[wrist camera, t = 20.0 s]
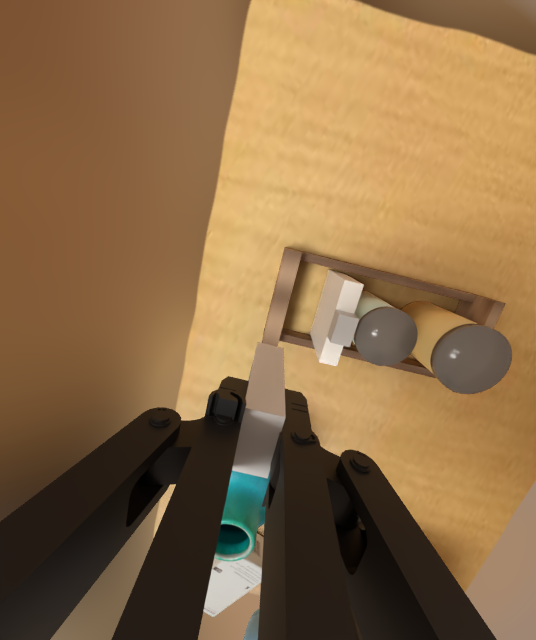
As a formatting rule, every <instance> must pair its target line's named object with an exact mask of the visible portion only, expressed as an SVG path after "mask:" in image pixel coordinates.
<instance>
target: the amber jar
mask: <svg viewBox="0 0 536 640" xmlns="http://www.w3.org/2000/svg"><path fill="white" fill-rule="evenodd" d="M401 311H403V312H405V313H406V314H408V315H409V316H410V317H411V318H412V319H413V321H414V322H415V324H416V327H417V331H418V338H417V342H416V345H415V347H414V349H413V351H412V352H411V353H410V354H411V355H412V356H414V357H415V358H416V359H417V360H418V361H419V362H420V363H421V364H423V365H424V366H425V367H426V368H427V369H428V370H429V371H430V372H432V373H433V374H434V375H435V377H436V378H437V379H438V380H439V381H440V382H441V383H442V384H443V385H445V386H446V387H447V388H448V389H450V390H452V391H454V392H457V393H462V394H474V393H479V392H482V391H485V390H487V389H489V388H491V387H493V386H494V385H496V384H497V383H498V382H499V381H500V380H501V379H502V378H503V377H504V376H505V374H506V373H507V371H508V369H509V367H510V364H511V360H512V350H511V346H510V344H509V342H508V340H507V339H506V338H505V336H503V335H502V334H501V333H500V332H498V331H496V330H494V329H492V328H489V327H487V326H484V325H481V324H477V323H475V322H473V321H471V320H468V319H466V318H464V317H461V316H459V315H457V314H455V313H452V312H450V311H448V310H445V309H443V308H441V307H439V306H436V305H434V304H432V303H429V302H424V301H418V302H413V303H410V304H408V305H406V306H405V307H403V308H402V309H401Z"/></svg>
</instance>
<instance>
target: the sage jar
mask: <svg viewBox="0 0 536 640" xmlns="http://www.w3.org/2000/svg"><path fill="white" fill-rule="evenodd" d="M354 314H355V315H356V316H357V317H358V318H359V322H358V324H357V327H356V330H355V333H354V336H353V339H352V341H353V343H354V344H355V346H356V348H357V350H358V351H359V353H360V354H361V356H362V357H363V358H364V359H365V360H367V361H368V362H370V363H372V364H375V365H379V366H388V365H393V364H396V363H399V362H401V361H402V360H404V359H405V358H406V357H407V356H409V355H410V353H411V352H412V351H413V349H414V347H415V345H416V342H417V338H418V331H417V327H416V324H415V322H414V321H413V319H412V318H411V317H410V316H409V315H408V314H406V313H405V312H403V311H401V310H400V309H397V308H395V307H393V306H391V305H390V304H388V303H386V302H385V301H383V300H381V299H380V298H378V297H376V296H375V295H373V294H371V293H369V292H367V291H362V292H361V295H360V298H359V301H358V304H357V307H356V310H355V313H354Z"/></svg>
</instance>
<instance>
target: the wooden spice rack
mask: <svg viewBox="0 0 536 640" xmlns="http://www.w3.org/2000/svg"><path fill="white" fill-rule="evenodd" d="M300 260H302V261H306V262H310V263H314V264H318V265H322V266H326V267H330V268H334V269H338V270H342V271H346V272H350V273H354V274H358V275H363V276H367V277H371V278H375V279H379V280H383V281H387V282H391V283H395V284H399V285H403V286H407V287H411V288H415V289H419V290H423V291H427V292H431V293H435V294H439V295H443V296H447V297H452V298H456V299H460V302H459V304H458V306H457V309H456V311H455V314H457V315H459V316H461V317H464V318H466V319H468V320H471V321H473V322H475V323H477V324H481V325H484V326H487V327H489V328H492V329H494V327H495V325H496V323H497V320H498V318H499V316H500V314H501V312H502V310H503V308H504V306H505V304H506V303H502V302H499V301H495V300H492V299H489V298H485V297H482V296H478V295H475V294H472V293H468V292H464V291H459V290H455V289H451V288H447V287H443V286H439V285H435V284H431V283H427V282H423V281H419V280H415V279H411V278H407V277H403V276H399V275H395V274H391V273H387V272H383V271H379V270H375V269H371V268H367V267H363V266H359V265H355V264H351V263H347V262H343V261H338V260H334V259H330V258H326V257H322V256H318V255H314V254H310V253H306V252H302V251H298V250H294V249H290V248H286V247H285V248H284V252H283V257H282V261H281V265H280V269H279V273H278V277H277V281H276V285H275V289H274V293H273V297H272V301H271V305H270V309H269V313H268V317H267V321H266V325H265V329H264V334H263V340H262V343H264V344H269V345H273V346H278V342H279V341H283V342H288V343H292V344H296V345H300V346H304V347H308V348H313V349H315V348H314V345H313V341H312V338H311V335H307V334H303V333H299V332H295V331H291V330H287V329H282V327H283V323H284V319H285V316H286V312H287V308H288V304H289V301H290V297H291V293H292V289H293V286H294V282H295V278H296V274H297V271H298V267H299V263H300ZM341 355H342V356H346V357H350V358H354V359H359V360H363V361H367V360H365V359H364V358H363V357H362V356H361V354H360V353H359V351H358V350H357V348H356V346H353V345H350V347H347V346H343V349H342V352H341ZM367 362H368V361H367ZM388 367H392V368H396V369H400V370H404V371H409V372H413V373H417V374H421V375H425V376H430V377H434V378H436V377H435V375H434V374H433V373H432V372H430V371H429V370H428V369H427V368H426V367H425V366H424V365H423V364H421V363H420V362H419V361H416V360H411V359H407V358H405V359H404V360H402V361H401V362H399V363H396V364H393V365H388ZM453 392H454V391H453ZM461 394H462V393H461Z"/></svg>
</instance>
